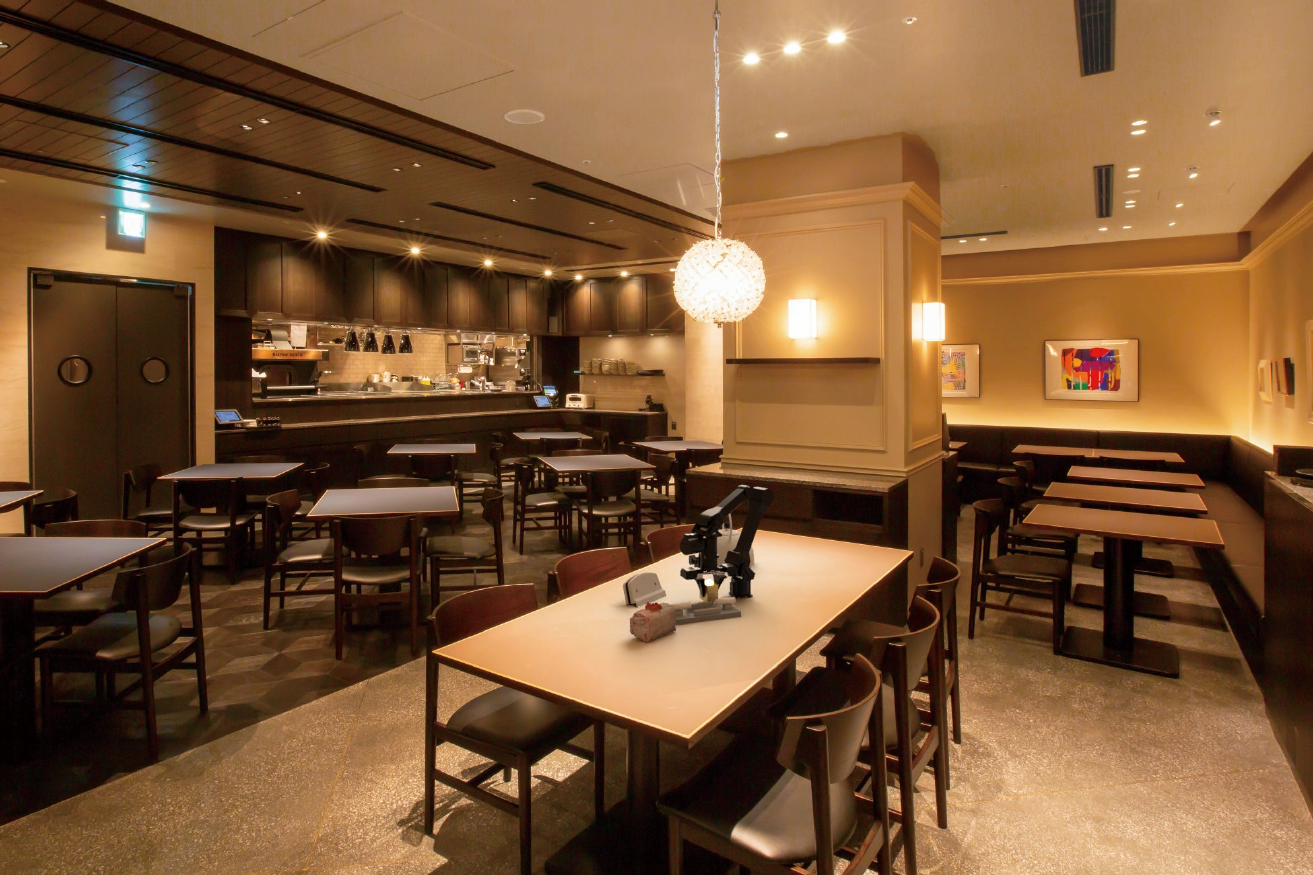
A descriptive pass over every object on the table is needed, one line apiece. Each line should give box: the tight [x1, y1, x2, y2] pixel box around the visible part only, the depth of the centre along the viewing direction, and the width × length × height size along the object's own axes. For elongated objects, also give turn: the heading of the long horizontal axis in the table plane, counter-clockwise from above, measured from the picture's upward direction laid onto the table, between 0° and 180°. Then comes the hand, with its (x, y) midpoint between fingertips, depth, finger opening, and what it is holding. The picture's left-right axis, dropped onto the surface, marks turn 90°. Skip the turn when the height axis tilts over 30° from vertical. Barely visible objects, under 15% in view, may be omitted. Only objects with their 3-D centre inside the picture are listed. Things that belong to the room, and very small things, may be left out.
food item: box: [629, 601, 677, 643], centre depth 206 cm, size 14×8×10 cm, turn 138°
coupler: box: [699, 579, 719, 604], centre depth 236 cm, size 6×4×6 cm, turn 20°
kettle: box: [717, 513, 755, 568], centre depth 291 cm, size 25×23×23 cm
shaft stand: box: [669, 596, 742, 625], centre depth 224 cm, size 22×10×5 cm, turn 110°
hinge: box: [622, 572, 667, 607], centre depth 241 cm, size 17×5×10 cm, turn 143°
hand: (708, 596), depth 236 cm, fingers closed on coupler, 4 cm apart
